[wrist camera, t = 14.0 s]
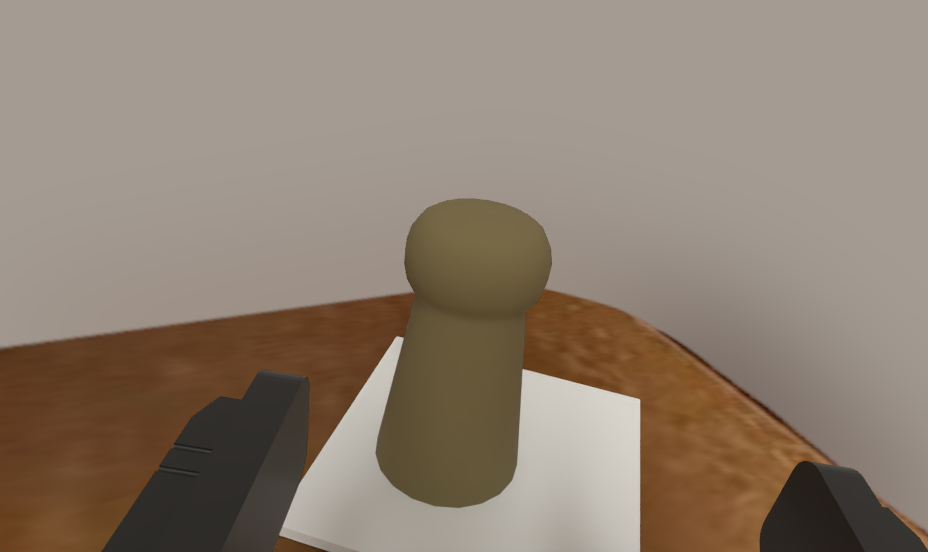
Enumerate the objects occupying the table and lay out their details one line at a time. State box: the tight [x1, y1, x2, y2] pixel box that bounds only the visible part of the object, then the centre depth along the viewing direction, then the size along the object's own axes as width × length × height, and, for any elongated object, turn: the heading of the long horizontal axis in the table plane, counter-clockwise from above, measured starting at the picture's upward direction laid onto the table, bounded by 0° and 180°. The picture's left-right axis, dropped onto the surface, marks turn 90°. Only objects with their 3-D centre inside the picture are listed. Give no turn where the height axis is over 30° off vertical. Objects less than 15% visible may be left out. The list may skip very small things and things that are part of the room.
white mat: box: [279, 336, 640, 552], centre depth 27 cm, size 13×13×1 cm
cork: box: [375, 199, 552, 508], centre depth 24 cm, size 6×6×11 cm
